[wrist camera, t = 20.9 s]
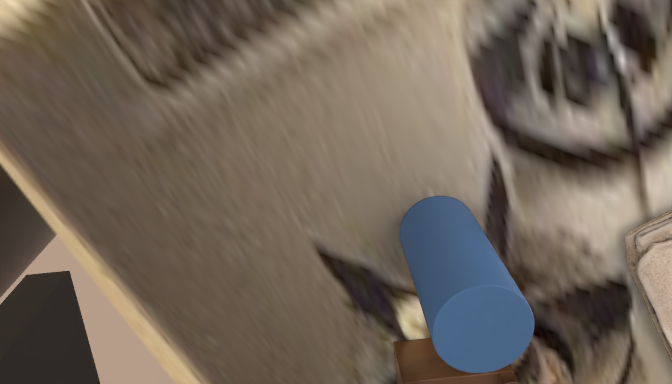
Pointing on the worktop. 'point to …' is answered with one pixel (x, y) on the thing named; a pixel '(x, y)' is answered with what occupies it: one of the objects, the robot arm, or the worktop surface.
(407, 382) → the cradle
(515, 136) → the worktop surface
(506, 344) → the tube
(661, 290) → the washcloth
